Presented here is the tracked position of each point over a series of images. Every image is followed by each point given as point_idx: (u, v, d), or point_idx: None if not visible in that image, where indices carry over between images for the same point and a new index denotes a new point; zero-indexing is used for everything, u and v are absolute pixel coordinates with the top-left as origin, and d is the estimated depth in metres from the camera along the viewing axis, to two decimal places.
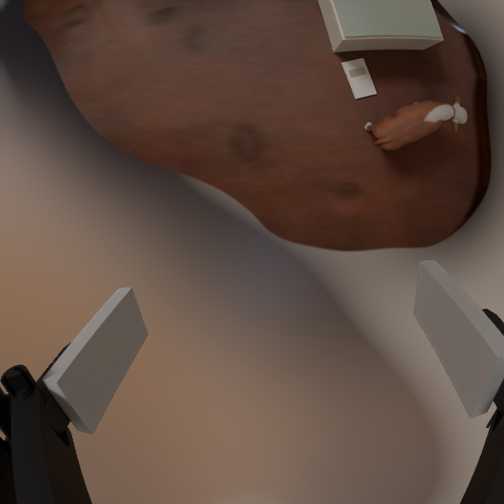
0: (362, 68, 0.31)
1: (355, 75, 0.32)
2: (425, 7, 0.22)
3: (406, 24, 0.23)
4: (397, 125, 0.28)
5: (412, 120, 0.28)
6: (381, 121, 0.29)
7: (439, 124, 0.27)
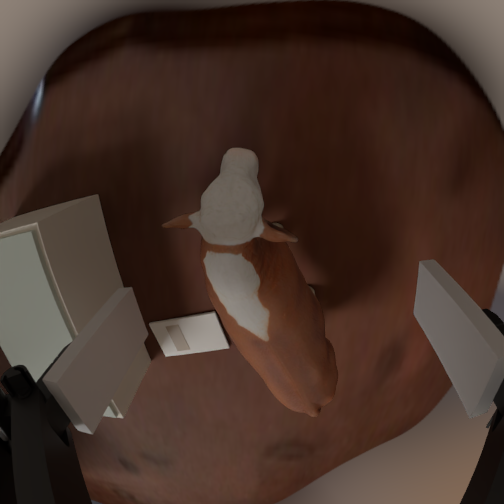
0: (168, 330, 0.20)
1: (185, 342, 0.21)
2: None
3: (43, 316, 0.13)
4: (281, 391, 0.13)
5: (268, 362, 0.12)
6: None
7: (275, 292, 0.11)
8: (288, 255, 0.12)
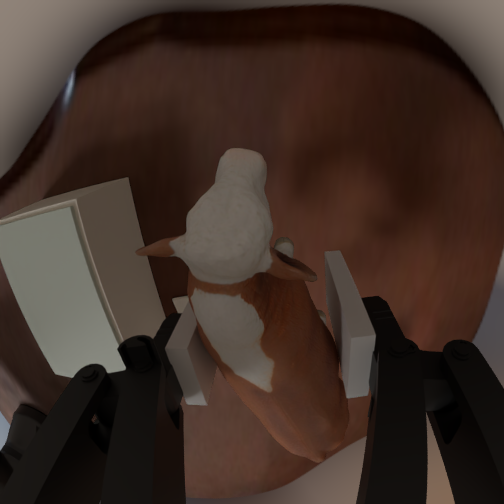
0: None
1: None
2: (28, 234, 0.15)
3: (75, 287, 0.16)
4: (284, 439, 0.10)
5: (269, 412, 0.10)
6: None
7: (282, 339, 0.08)
8: (300, 287, 0.10)
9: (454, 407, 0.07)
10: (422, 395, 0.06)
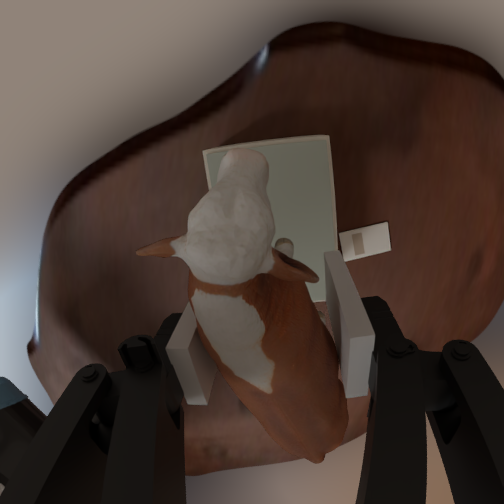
0: (353, 237, 0.29)
1: (363, 246, 0.29)
2: (268, 159, 0.21)
3: (311, 205, 0.22)
4: (283, 440, 0.10)
5: (269, 413, 0.10)
6: None
7: (283, 340, 0.08)
8: (301, 288, 0.10)
9: (453, 407, 0.07)
10: (422, 394, 0.06)
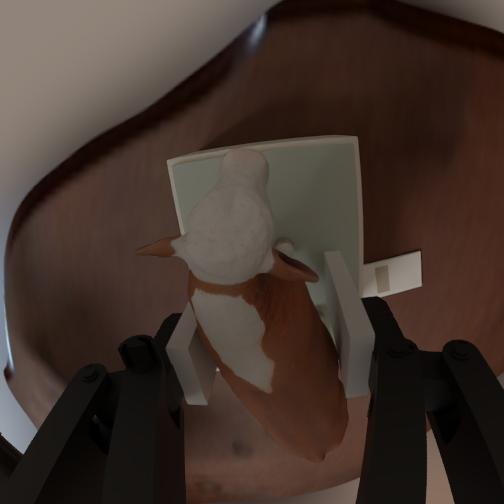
0: (377, 271, 0.21)
1: (388, 283, 0.22)
2: None
3: (329, 242, 0.15)
4: (283, 439, 0.10)
5: (269, 413, 0.10)
6: None
7: (283, 340, 0.08)
8: (301, 288, 0.10)
9: (453, 407, 0.07)
10: (422, 394, 0.06)
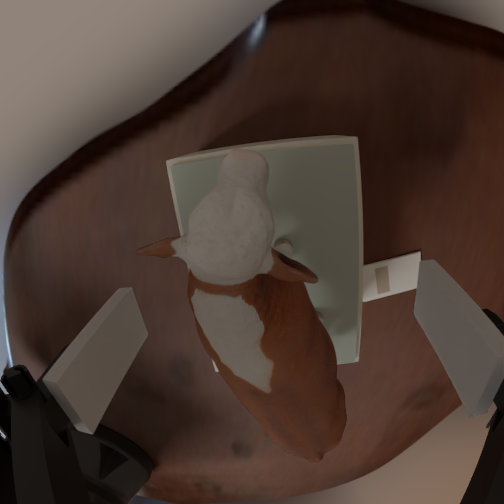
0: (377, 272, 0.21)
1: (388, 283, 0.22)
2: None
3: (328, 242, 0.14)
4: (281, 439, 0.11)
5: (267, 412, 0.10)
6: None
7: (282, 340, 0.08)
8: (300, 289, 0.10)
9: None
10: None
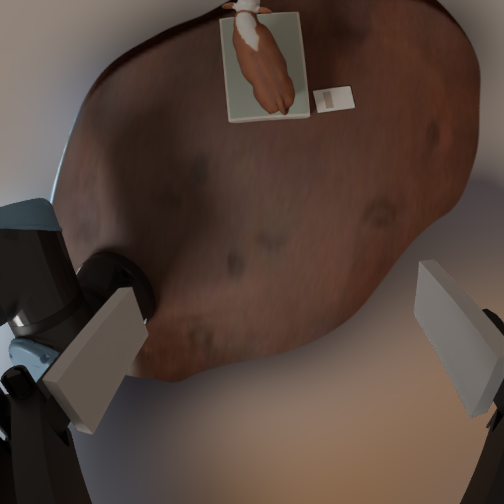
0: (324, 94, 0.35)
1: (332, 102, 0.35)
2: (260, 22, 0.27)
3: (287, 48, 0.28)
4: (262, 85, 0.24)
5: (256, 65, 0.23)
6: (258, 102, 0.26)
7: (262, 31, 0.22)
8: (269, 30, 0.23)
9: None
10: None
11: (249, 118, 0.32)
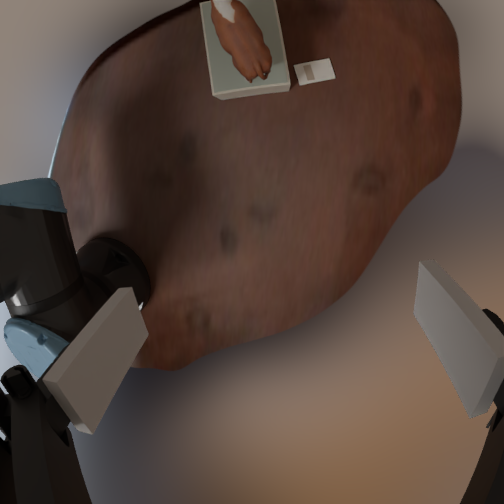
0: (304, 67, 0.35)
1: (313, 74, 0.35)
2: None
3: (264, 23, 0.28)
4: (240, 53, 0.24)
5: (234, 36, 0.23)
6: (238, 69, 0.26)
7: (237, 5, 0.22)
8: (245, 6, 0.23)
9: None
10: None
11: (232, 90, 0.32)
